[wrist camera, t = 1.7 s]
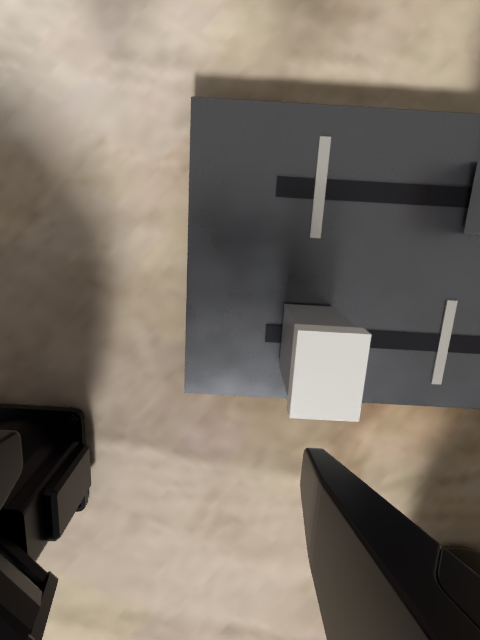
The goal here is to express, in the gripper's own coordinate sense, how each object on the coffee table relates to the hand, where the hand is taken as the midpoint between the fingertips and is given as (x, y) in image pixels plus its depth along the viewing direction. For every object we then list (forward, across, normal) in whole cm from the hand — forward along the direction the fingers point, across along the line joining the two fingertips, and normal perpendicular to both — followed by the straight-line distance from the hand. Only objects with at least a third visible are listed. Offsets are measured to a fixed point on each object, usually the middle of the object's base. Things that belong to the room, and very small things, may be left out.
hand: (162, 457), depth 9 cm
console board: (+12, -8, -4) cm, 15 cm away
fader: (+10, -5, 0) cm, 12 cm away
